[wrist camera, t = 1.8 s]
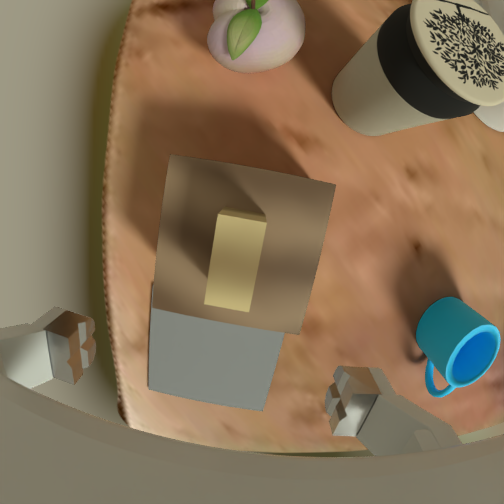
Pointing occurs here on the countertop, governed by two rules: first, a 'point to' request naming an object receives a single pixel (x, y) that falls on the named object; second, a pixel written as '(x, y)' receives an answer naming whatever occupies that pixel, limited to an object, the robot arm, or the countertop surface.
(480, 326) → the mug
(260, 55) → the decorative fruit
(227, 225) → the lid
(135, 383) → the countertop surface
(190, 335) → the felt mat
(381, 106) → the travel mug
